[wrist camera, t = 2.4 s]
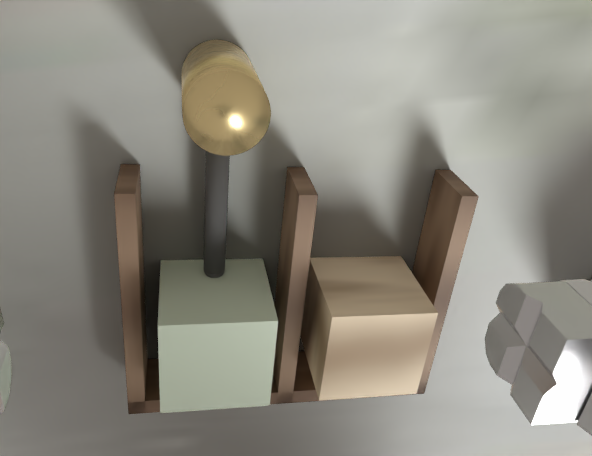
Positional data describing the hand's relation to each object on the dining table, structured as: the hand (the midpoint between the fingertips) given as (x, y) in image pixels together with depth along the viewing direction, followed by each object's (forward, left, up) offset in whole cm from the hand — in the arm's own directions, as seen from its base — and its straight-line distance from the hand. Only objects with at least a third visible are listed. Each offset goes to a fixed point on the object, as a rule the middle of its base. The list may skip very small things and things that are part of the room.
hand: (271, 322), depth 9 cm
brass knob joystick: (-6, 0, -16) cm, 18 cm away
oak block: (-12, -8, -17) cm, 22 cm away
